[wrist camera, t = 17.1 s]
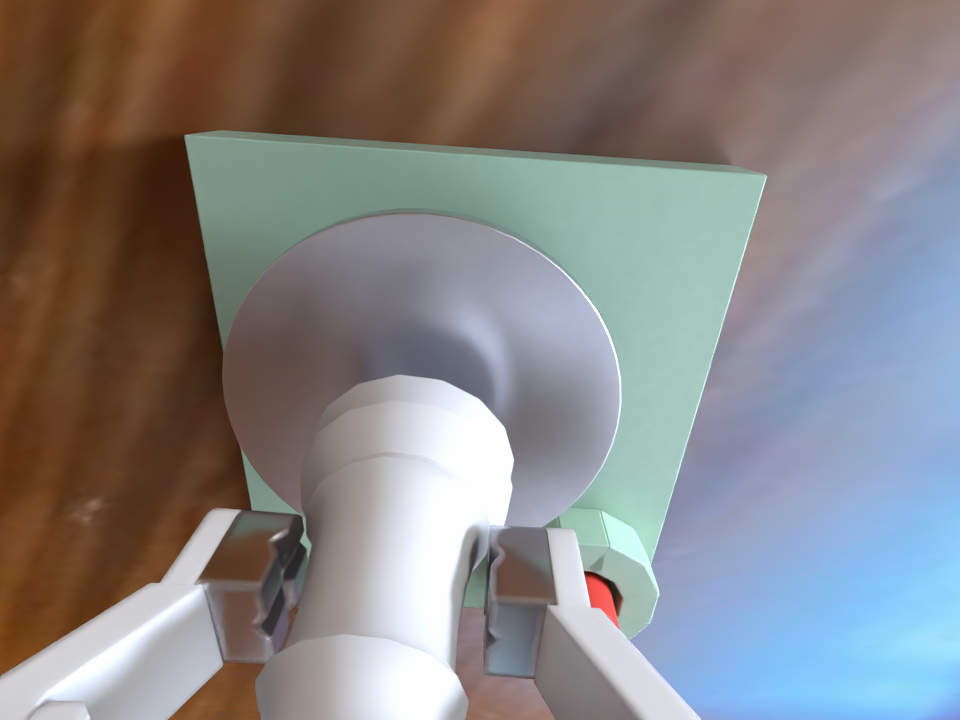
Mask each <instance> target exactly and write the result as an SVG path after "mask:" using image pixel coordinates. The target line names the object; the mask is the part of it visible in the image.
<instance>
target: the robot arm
mask: <svg viewBox="0 0 960 720" xmlns="http://www.w3.org/2000/svg"><path fill="white" fill-rule="evenodd" d="M303 532H304V524H303V518H302V516H301V515H299V514H291V513H279V512H267V511H255V510H236V509H224V508H214V509H213V510H211V511H210V512H208V513H207V514H206V516H205V517H204V519H203V520H202V522H201V523H200V524H199V526H198V527H197V529H196V530H195V532H194V533H193V535H192V536H191V538H190V539H189V540H188V542H187V543H186V545H185V546H184V548H183V549H182V551H181V552H180V554H179V555H178V557H177V558H176V559H175V561H174V562H173V564H172V565H171V567H170V568H169V570H168V571H167V573H166V574H165V575H164V577H163V578H162V580H161V581H160V583H149V584H147V585H146V586H144V587H143V588H141V589H139V590H138V591H136V592H135V593H133V594H131V595H130V596H128V597H126V598H125V599H123V600H122V601H120V602H118V603H117V604H115V605H114V606H112V607H110V608H109V609H107V610H106V611H104V612H102V613H101V614H99V615H98V616H96V617H94V618H93V619H91V620H90V621H88V622H86V623H85V624H83V625H82V626H80V627H78V628H77V629H75V630H74V631H72V632H70V633H69V634H67V635H66V636H64V637H62V638H61V639H59V640H57V641H56V642H54V643H53V644H51V645H49V646H48V647H46V648H45V649H43V650H41V651H40V652H38V653H37V654H35V655H33V656H32V657H30V658H29V659H27V660H25V661H24V662H22V663H21V664H19V665H17V666H16V667H14V668H13V669H11V670H9V671H8V672H6V673H5V674H3V675H1V676H0V720H168V719H169V718H170V717H171V716H172V715H173V714H174V713H175V712H176V711H177V710H178V709H179V708H180V707H181V706H182V705H183V704H184V703H185V702H186V701H187V700H188V699H189V698H190V697H191V696H192V695H193V694H194V693H195V692H196V691H198V690H199V689H200V688H201V687H202V686H203V685H204V684H205V683H206V682H207V681H208V680H209V679H210V678H211V677H212V676H213V675H214V674H215V673H216V672H217V671H218V670H219V669H220V668H221V667H222V666H223V662H230V663H267V661H268V660H269V658H271V657H272V656H274V655H275V654H277V653H278V652H280V650H281V648H282V645H283V642H284V640H285V637H286V635H287V632H288V629H289V627H290V626H289V619H288V611H290V610H291V609H292V608H293V607H295V606H296V605H297V604H298V603H299V600H300V597H301V593H302V588H303V583H304V579H305V574H306V569H307V565H308V556H307V548H306V547H305V546H304V545H303V544H302V543H301V542H300V540H301V537H302V535H303ZM484 615H485V616H486V617H485V628H484V675H489V676H501V677H513V678H525V679H534V683H535V685H536V687H537V688H538V690H539V692H540V693H541V695H542V697H543V699H544V700H545V702H546V704H547V705H548V707H549V709H550V711H551V712H552V714H553V716H554V717H555V719H556V720H701V719H700V718H699V717H698V716H697V714H696V713H695V712H694V711H693V710H692V709H691V708H690V707H689V706H688V705H687V703H686V702H685V701H684V700H683V699H682V698H681V697H680V696H679V695H678V694H677V692H676V691H675V690H674V689H673V688H672V687H671V686H670V685H669V684H668V683H667V681H666V680H665V679H664V678H663V677H662V676H661V675H660V674H659V673H658V672H657V671H656V669H655V668H654V667H653V666H652V665H651V664H650V663H649V662H648V661H647V660H646V658H645V657H644V656H643V655H642V654H641V653H640V652H639V651H638V650H637V649H636V647H635V646H634V645H633V644H632V643H631V642H630V641H629V640H628V639H627V638H626V636H625V635H624V634H623V633H622V632H621V631H620V630H619V629H618V628H617V627H616V626H615V624H614V623H613V622H612V621H611V620H610V619H609V618H608V617H607V616H606V615H605V613H604V612H603V611H602V610H601V609H600V608H591V605H590V600H589V595H588V590H587V585H586V581H585V576H584V571H583V566H582V561H581V556H580V551H579V546H578V541H577V537H576V533H575V531H574V530H573V529H565V528H545V529H544V528H541V527H521V526H501V525H490V530H489V539H488V558H487V560H486V573H485V587H484Z"/></svg>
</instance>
